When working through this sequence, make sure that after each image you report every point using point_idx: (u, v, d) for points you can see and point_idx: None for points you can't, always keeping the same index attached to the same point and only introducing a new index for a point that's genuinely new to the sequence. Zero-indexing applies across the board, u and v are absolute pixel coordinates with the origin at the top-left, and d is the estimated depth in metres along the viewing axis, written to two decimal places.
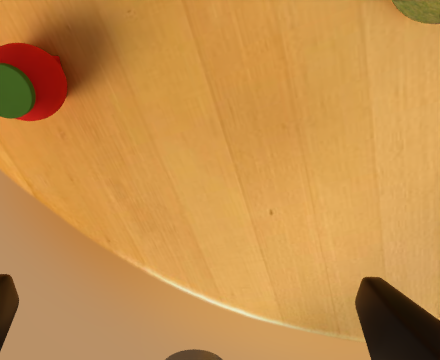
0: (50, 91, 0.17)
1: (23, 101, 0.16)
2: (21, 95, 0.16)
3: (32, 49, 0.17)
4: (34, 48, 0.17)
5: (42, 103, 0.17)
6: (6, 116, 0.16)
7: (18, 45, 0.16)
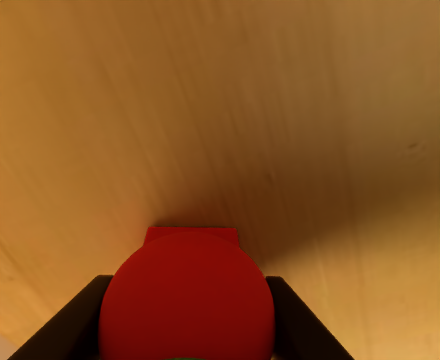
0: None
1: None
2: None
3: (231, 272, 0.07)
4: (231, 263, 0.07)
5: None
6: None
7: (201, 268, 0.06)
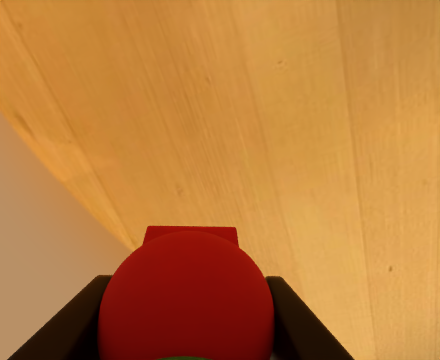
0: None
1: None
2: None
3: (230, 271, 0.07)
4: (230, 262, 0.07)
5: None
6: None
7: (200, 266, 0.06)
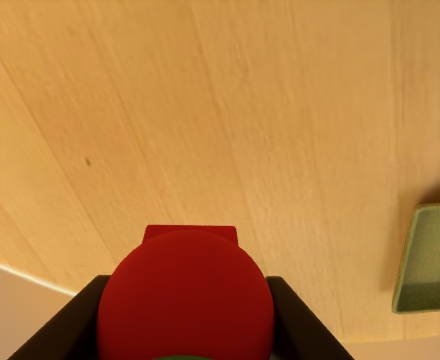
0: None
1: None
2: None
3: (230, 269, 0.06)
4: (229, 261, 0.07)
5: None
6: None
7: (199, 265, 0.06)
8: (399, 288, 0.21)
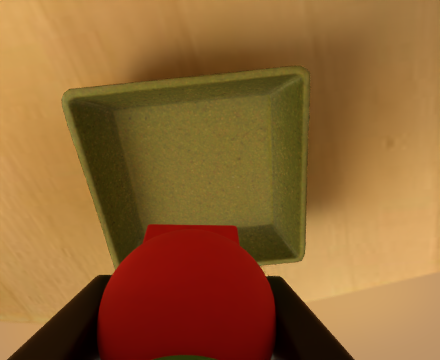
0: None
1: None
2: None
3: (232, 269, 0.06)
4: (231, 260, 0.07)
5: None
6: None
7: (201, 265, 0.06)
8: (106, 235, 0.14)
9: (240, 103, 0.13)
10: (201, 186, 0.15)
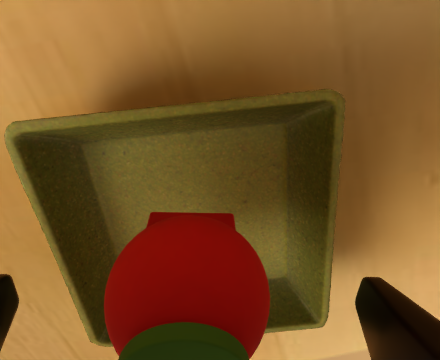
0: (261, 337, 0.07)
1: None
2: None
3: (228, 249, 0.07)
4: (227, 241, 0.07)
5: None
6: None
7: (200, 244, 0.07)
8: (75, 301, 0.11)
9: (246, 134, 0.10)
10: None
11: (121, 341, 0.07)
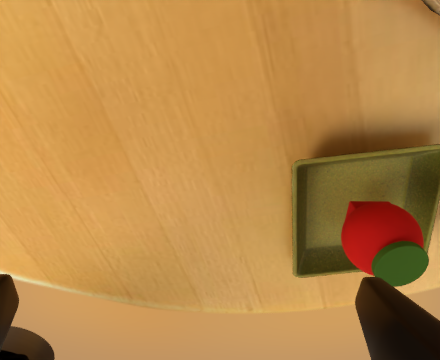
0: None
1: (415, 273, 0.16)
2: (417, 269, 0.16)
3: (408, 215, 0.17)
4: (406, 212, 0.17)
5: None
6: None
7: (398, 213, 0.17)
8: (294, 249, 0.21)
9: (391, 161, 0.20)
10: None
11: (370, 252, 0.16)
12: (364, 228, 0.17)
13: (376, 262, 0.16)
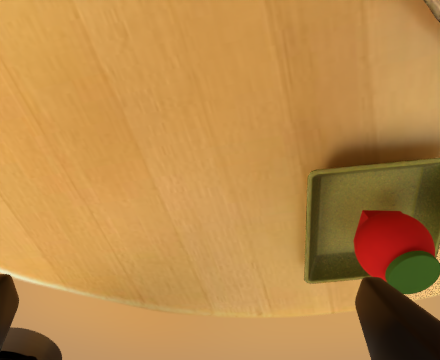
0: None
1: (427, 282, 0.17)
2: (429, 277, 0.16)
3: (421, 225, 0.17)
4: (418, 222, 0.17)
5: None
6: (403, 292, 0.17)
7: (411, 223, 0.17)
8: (307, 256, 0.21)
9: (402, 172, 0.20)
10: None
11: (384, 260, 0.17)
12: (378, 237, 0.17)
13: (390, 271, 0.16)
